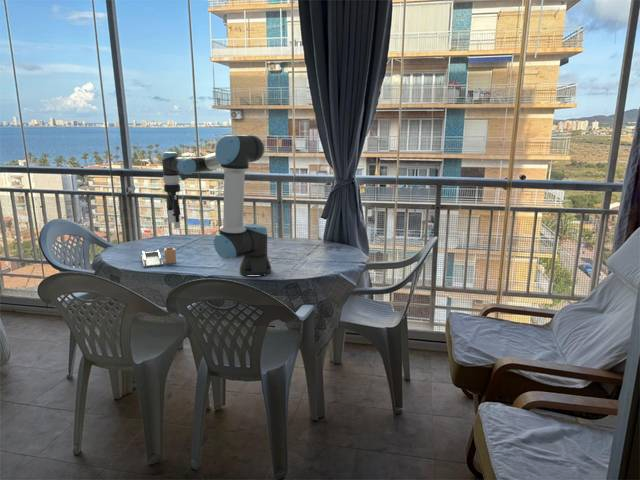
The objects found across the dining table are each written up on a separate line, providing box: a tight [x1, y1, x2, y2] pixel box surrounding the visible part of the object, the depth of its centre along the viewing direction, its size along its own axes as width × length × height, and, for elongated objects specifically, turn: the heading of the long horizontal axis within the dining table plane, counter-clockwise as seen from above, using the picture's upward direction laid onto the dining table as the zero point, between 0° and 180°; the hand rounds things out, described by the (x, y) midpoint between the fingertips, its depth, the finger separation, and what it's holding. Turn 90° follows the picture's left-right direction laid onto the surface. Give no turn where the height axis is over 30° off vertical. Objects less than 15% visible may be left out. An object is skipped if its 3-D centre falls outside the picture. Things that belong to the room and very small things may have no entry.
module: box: [163, 247, 177, 265], centre depth 223 cm, size 4×5×8 cm
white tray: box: [141, 249, 164, 269], centre depth 225 cm, size 20×9×4 cm, turn 24°
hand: (174, 225), depth 224 cm, fingers open, 13 cm apart
